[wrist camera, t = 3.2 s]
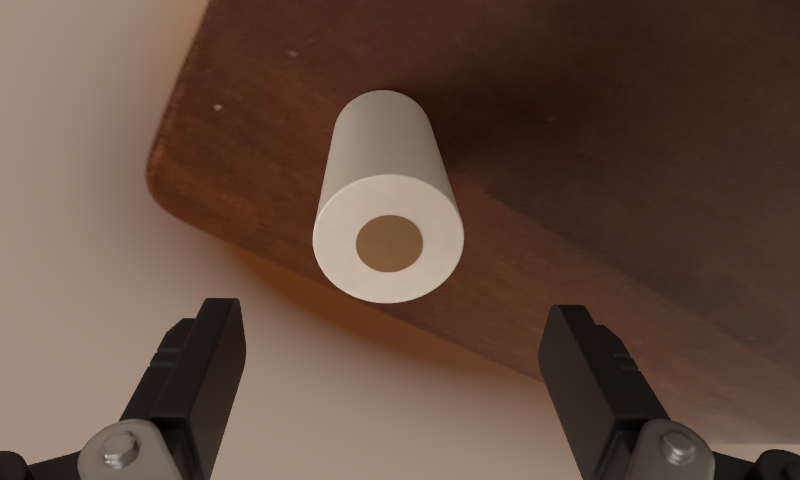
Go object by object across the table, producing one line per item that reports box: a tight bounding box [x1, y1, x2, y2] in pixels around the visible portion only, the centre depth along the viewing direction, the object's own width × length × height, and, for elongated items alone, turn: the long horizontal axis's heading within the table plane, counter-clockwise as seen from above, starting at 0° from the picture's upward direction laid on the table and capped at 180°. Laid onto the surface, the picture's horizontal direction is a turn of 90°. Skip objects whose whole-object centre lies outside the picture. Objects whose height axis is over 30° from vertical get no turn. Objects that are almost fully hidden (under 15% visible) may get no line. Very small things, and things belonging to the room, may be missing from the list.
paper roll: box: [313, 90, 464, 303], centre depth 20 cm, size 5×5×10 cm
